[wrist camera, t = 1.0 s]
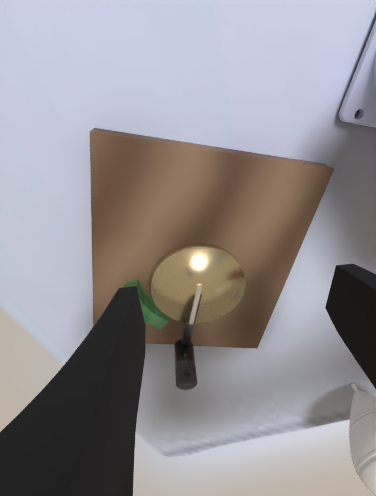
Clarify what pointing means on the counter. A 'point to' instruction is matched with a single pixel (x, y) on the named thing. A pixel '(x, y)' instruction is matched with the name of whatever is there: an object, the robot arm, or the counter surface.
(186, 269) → the dial
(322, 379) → the counter surface
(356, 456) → the cream vase
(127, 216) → the dial board
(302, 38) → the counter surface
